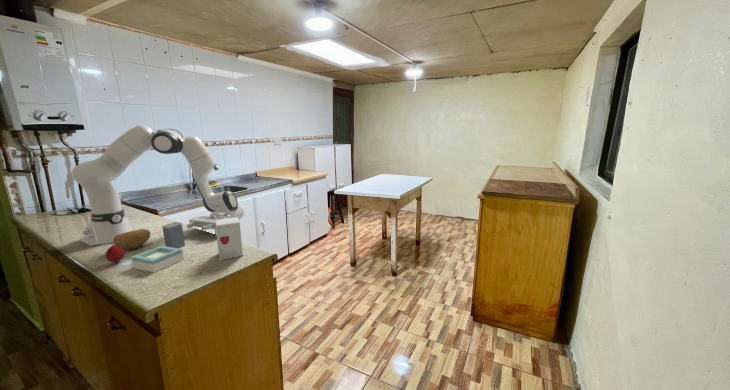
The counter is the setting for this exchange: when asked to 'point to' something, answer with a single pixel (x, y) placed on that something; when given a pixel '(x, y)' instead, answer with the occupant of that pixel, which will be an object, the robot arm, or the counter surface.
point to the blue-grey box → (173, 235)
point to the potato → (132, 239)
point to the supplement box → (229, 238)
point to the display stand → (157, 258)
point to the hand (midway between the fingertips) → (195, 227)
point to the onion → (115, 253)
